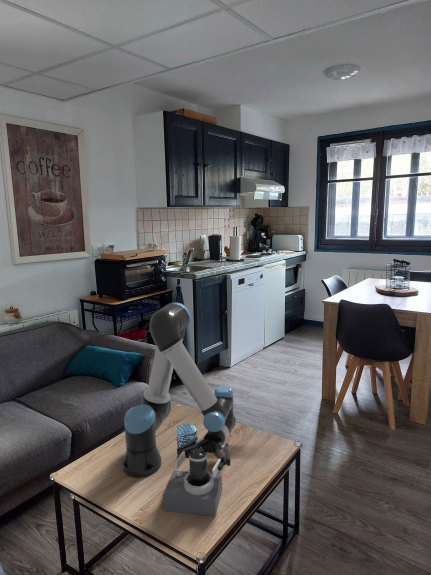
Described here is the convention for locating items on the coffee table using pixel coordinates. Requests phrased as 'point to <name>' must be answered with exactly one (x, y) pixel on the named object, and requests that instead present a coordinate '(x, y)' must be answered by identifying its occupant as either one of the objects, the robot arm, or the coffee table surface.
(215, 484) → the camera body
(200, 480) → the lens
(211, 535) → the coffee table surface
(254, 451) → the coffee table surface
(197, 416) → the coffee table surface
